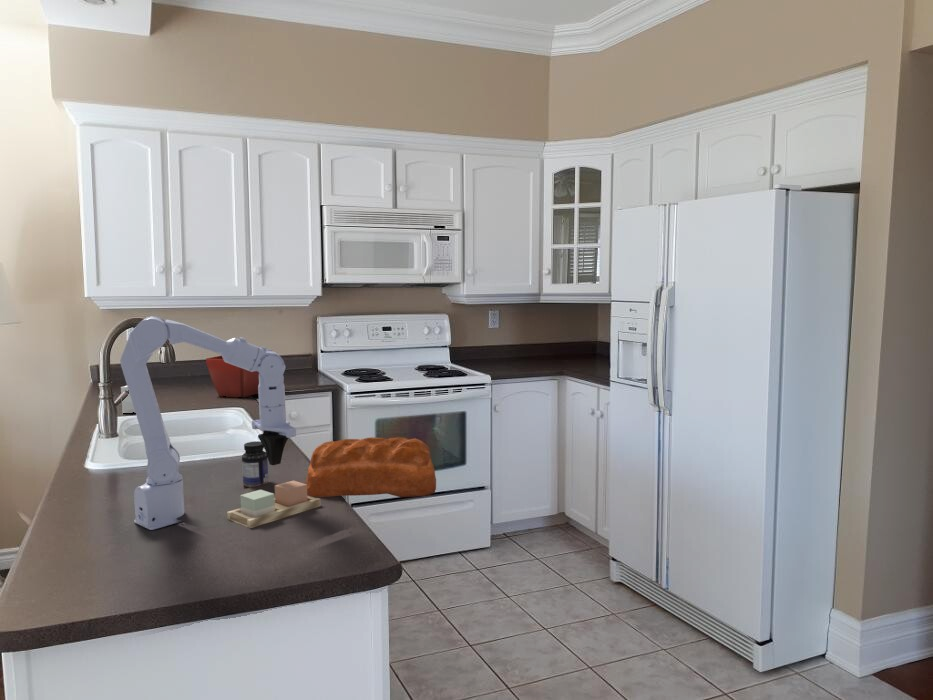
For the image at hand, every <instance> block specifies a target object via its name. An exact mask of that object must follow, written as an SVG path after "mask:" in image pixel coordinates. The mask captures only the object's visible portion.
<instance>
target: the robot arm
mask: <svg viewBox="0 0 933 700" xmlns="http://www.w3.org/2000/svg"><path fill="white" fill-rule="evenodd" d="M167 340H169V345H174V344H180V343H186V344H189V345H191V346H192V345H193V346H195V347H198V348H201V349H204V350H206V351H207V350H208V351H209V352H213V353H217V354H220V356H221V355H222V357H223V360H224V362H226V363H229V364H232V365H235V366H237V367H240V368H243V369H246V370H248V371H251V372H254V371H258V372H259V385H258V393H257V394H258V408H259V409H258V411H259V419H255V420H254V419H253V420H251V429H252V430H260V431H263V432H262V433H260V434H258V435H257V438H258V440H259V442H261V443H262V444H263V446H264V448H263V450H264V451H265V452H266V454H267V461H268V465H270V466H276V465H280V464H281V462H282V458H283V453H284V450H285V446H286V444H287V442H288V440H289V438H294V437H297V428H296V427H295V426H292V425H291V421H289V420H287V413H286V412H287V411H286V409H287V408H286V393H285V392H286V391H285V390H286V387H285V383H284V380H285V377H284V373H285V371H286V368H287V367H286V364H285V361H284V359H283V358H282V357H281V355H280V354H278V352H275V351H274V350H272V349H268V347H266V346H264V345H262V346H261V347H260V346H257V345H255V344H252V343H250V342H247V339H246V338H245V337H241V336H240V337H239V338H237V337H233V338H230V339H228V340H224V339H222V338H220V337H218V336H215V335H213V334H211V333H208V332H205V331H203V330H201V329H198V328H196V327H194V326H190V325H188V324H185V323H182V322H179V321H175V320H171V319H164V318H162V317H159V316H155V315H151V316H147V317H145V318H144V319H142V320H141V321H140V322H138V323H137V324H136V326H135V327H134V328H133V329H132V330H131V332H130V333H129V336H128V339H127V342H126V344H125V347H124V349H123V352H122V355H121V358H120V367H121V370H122V373H123V377H124V380H125V383H126V386H127V387H128V390H129V393H130V396H131V400H132V403H133V406H134V409H135V413H136V414H135V416H136V419H137V422H138V426H139V429H140V432H141V435H142V438H143V439H142V440H143V442H144V449H145V454H146V459H147V464H146V475H147V476H148V477H146V479H145V480H146V481H145V483H144V484H142V485H138V486H137V487H135V489H134V491H133V500H134V501H133V503H134V516H135V518H134V520H133V522H134V523H135V524H137V525H139V526H141V527H143V528H146V529H147V530H149V531H153V530H157V529H160V528H164V527H167V526H170V525H174V524H177V523H182V522H183V520H181V519H179V518H180V517H182V516H184V514H185V499H184V498H185V497H184V483H183V482H184V480H183V475H182V474H181V473H180V472H179V470H180V465H179V463H180V461H181V458H180V457H181V456H180V453H179V451H178V450H177V449H176V448H175V447H174V446H173V444H172V442H171V439H170V437H169V435H168V432H167V429H166V426H165V424H164V423H165V422H164V419H163V415H162V413H161V410H160V409H161V408H160V406H159V402H158V399H157V396H156V393H155V390H154V386H153V383H152V380H151V376H150V374H149V369H148V367H147V363H148V361H149V360H150V359H151V357H152V356H153V353H155V351H157V350H159V349H160V348H161V347H162V346H163V345H165V343H166V342H167Z"/></svg>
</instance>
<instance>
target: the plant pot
mask: <svg viewBox="0 0 933 700" xmlns="http://www.w3.org/2000/svg"><path fill="white" fill-rule="evenodd" d="M205 362H206V366H207V369H208V373H209V376H210V378H211V379H210V380H211V382H212V384H213V386H214V388H215V391H216V393H217V395H218V396H219V397H223V396H226V397H225V398H238V397H243V398H247V397H250V396H253V395H258V394H259V393H258V385H259V372H258V371H254V372H251V371H248V370H246V369H243V368H240V367H237V366H235V365H232V364H229V363H226V362H224V360H223V357H222V355H221V354H220V355H217V356H212V357H207V358H205Z"/></svg>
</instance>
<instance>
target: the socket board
mask: <svg viewBox="0 0 933 700" xmlns="http://www.w3.org/2000/svg"><path fill="white" fill-rule="evenodd" d="M307 500H308V501H307V502H303V503H300V504H297V505H293V506H290V507H286V506H283V505H280V504H277V503H275V511H274V512H271V513H267V514H264V515H261V516H258V517H254V518H252V517H249V516H247V515H244V514H241V507H240V508H239V507H238V508H237V509H232V510H229V511H227V512H226V515H227V516H226V517H227V518H226V519H227V520H229V521H232V522H234V523H236V524H238V525H241V526H243V527H246V528H249V529H253V528H255V527H259V526H262V525H266V524H268V523H271V522H274V521H279V520H282V519H284V518H287V517H291V516H293V515H296V514H300V513H304V512H307V511H310V510H312V509H315V508H319V507H321V506H322V505H321V504H322V503H321V498H319V497H318V498H317V497H314V496H309V495H307ZM274 502H275V497H274Z"/></svg>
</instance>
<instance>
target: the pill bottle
mask: <svg viewBox="0 0 933 700" xmlns="http://www.w3.org/2000/svg"><path fill="white" fill-rule="evenodd" d="M243 449H244V451H245V452H244V453H243V454H242V455H241V465H242V467H241V469H242V471H241V472H242V486H243V488H244V489H247V490H248V489H251V488H254V487H258V486H262V485H267V484H268V483H269V461H268V457H267V454H266V451H265V450H264V446H263V444H262V443H261V441H260V440H259V441H256V440H255V441H248V442H245V443H244V444H243Z"/></svg>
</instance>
